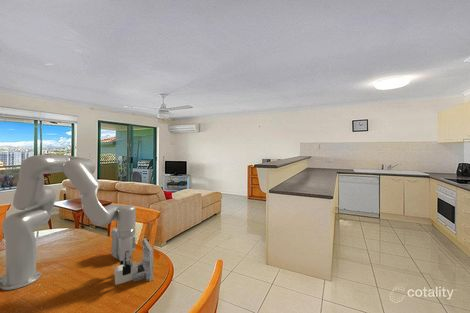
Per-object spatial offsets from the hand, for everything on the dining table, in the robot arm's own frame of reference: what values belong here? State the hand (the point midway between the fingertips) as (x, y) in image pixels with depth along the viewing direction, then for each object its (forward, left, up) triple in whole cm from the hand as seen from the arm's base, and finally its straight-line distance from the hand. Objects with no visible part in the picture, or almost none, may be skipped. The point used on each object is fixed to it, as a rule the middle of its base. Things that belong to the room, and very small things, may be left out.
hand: (125, 269), depth 95 cm
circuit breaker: (+2, +24, -5) cm, 24 cm away
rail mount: (+7, 0, -5) cm, 8 cm away
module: (0, 0, -5) cm, 5 cm away
